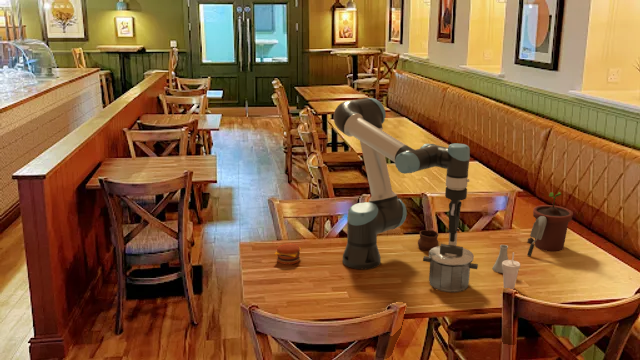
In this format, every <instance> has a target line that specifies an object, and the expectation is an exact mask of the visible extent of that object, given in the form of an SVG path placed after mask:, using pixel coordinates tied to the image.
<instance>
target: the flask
mask: <svg viewBox="0 0 640 360" xmlns="http://www.w3.org/2000/svg"><path fill="white" fill-rule="evenodd" d="M499 248H500V249H499V254H498V256H497V258H496V260H495V263H494V264H493V266H492V270H493V271H494V273H500V274H503V266H502V262H503V261H504V260H509V257H508V248H509V245H507V244H500V245H499Z"/></svg>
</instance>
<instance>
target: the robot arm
mask: <svg viewBox="0 0 640 360" xmlns="http://www.w3.org/2000/svg"><path fill="white" fill-rule="evenodd" d="M386 113H387V112H386V109H385V106H384V104H382V102H381V101H380V100H378V99H376V98H373V97H364V98H360V99H353V100H346V101H343V102H341V103H340V104H338V105H337V106H336V108H335V109H334V112H333V122H334V125H335V127H336V128H337V129H338V130H339V132H340V133H342V134H344V135H345V136H347V137H354V138H356V140H359V142H360V148H361V153H362V157H363V161H364V165H365V171H366V175H367V180H368V184H369V191H370V194H371V196H370V198H369V199H368V202H367V201H366V202H365V201H364V202H358V203H355V204H353V205H351V206H350V207H349V209H348V210H347V216H346V217H347V218H346V220H347V225H346V226H347V231H346V232H347V236H346V237H347V241H346V246H345V249H344V251H343V254H342V264H343V265H344V266H346V267H348V268H350V269H356V270H370V269H374V268H377V267H379V266H380V265H381V259H382V258H381V254H380V250H379V248H378V244H377V243H378V242H377V241H378V240H377V239H378V234H381V233H385V232H388V231H391V230H396V229H397V228H398V227H401V226H403V224H404V223H405V221H406V218H407V216H408V215H407V214H408V213H407V212H408V211H407V206H406V204H405V203H404V202H403V200H402V199H400V198H398V194H397V193H395V192H394V191H393V188H392V183H391V179H390V174H389V170H388V163H387V160H386V158H387V159H389V160H391V162H393V163H394V164H395V168H396V169H397V171H398V172H399V173H400V174H403V175H405V174H412V173H417V172H419V171H423V170H427V169H431V168H434V167H437V168H441V169H445V170H446V174H445V177H446V178H445V193H444V195H445V198H446V199H448V200H449V201H450V202H449V203H448V230H447V231H446V232H447V233H449V234H448V244H447V245H453V246H458V245H457V242H458V241H457V240H458V232H460V231H461V230H460V228H459V227H460V226H459V223H460V214H461V207H462V201H464V200H466V199H467V195H468V188H467V187H468V183H469V182H470V179H468V177H469V167H470V159H471V156H470V155H471V154H470V151H471V149H470V147H469V145H467V144H465V143H455V142H454V143H451V144H448V147H446V146H442V145H438V144H434V143H424V144H423V145H422V146H420V148H417V149H414V148H412V147H410V146H409V145H407V144H406V143H403V142H402V141H400V140H399V139H397V138H395V137H394V136H392V135H390V134H388V133H387V132H385V131H383V129H384V127H383V124H384V123H385V121H386V116H387V115H386Z"/></svg>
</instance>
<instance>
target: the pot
mask: <svg viewBox="0 0 640 360" xmlns="http://www.w3.org/2000/svg"><path fill="white" fill-rule="evenodd" d="M422 262H426V263H429V276H428V281H429V285H430V286H431V288H433V289H435V290H437V291H440V292H444V293H461V292H463V291H466V290H467V289H468V288H469V283H470V273H471V269H473V270H478V268H479V264H478V263H473V262H471V263H470V264H467V265H463V266H448V265H443V264H439V263H436V262H434V261H433V260H431V259H430V257H429V256H426V255H425V256H423V258H422Z"/></svg>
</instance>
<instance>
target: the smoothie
mask: <svg viewBox="0 0 640 360" xmlns="http://www.w3.org/2000/svg"><path fill="white" fill-rule="evenodd" d="M514 259H515V251H514V252H513V251H512V257H511V259H508V260H504V261H503V262H502V266H503V273H502V278H503V288H504V289H505V288H510V289H513V290H514V289H515V287H516V283H517V279H518V273H519V269H520V268H521V262H519V261H517V260H514Z"/></svg>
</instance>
